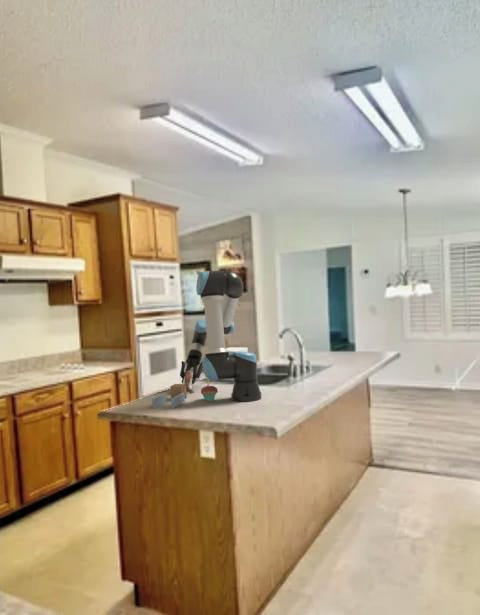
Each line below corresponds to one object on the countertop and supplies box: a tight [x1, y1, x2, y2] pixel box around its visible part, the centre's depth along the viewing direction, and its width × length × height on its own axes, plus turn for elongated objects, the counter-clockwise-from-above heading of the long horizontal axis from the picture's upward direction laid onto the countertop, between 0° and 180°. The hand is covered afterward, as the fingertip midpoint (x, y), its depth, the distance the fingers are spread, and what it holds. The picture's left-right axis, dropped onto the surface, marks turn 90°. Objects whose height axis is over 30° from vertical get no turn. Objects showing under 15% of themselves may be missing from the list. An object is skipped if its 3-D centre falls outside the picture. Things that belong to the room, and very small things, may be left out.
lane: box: [151, 392, 186, 410], centre depth 237 cm, size 14×11×4 cm
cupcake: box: [200, 378, 219, 402], centre depth 244 cm, size 9×8×12 cm
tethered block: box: [169, 370, 195, 400], centre depth 256 cm, size 20×6×12 cm, turn 165°
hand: (186, 388), depth 260 cm, fingers closed on tethered block, 3 cm apart
